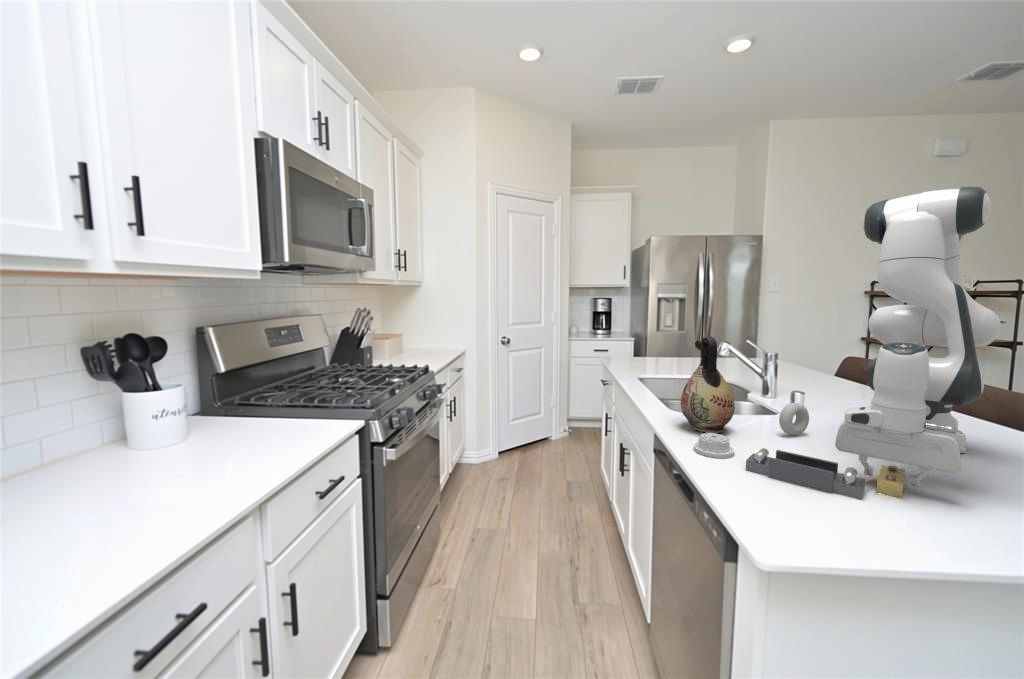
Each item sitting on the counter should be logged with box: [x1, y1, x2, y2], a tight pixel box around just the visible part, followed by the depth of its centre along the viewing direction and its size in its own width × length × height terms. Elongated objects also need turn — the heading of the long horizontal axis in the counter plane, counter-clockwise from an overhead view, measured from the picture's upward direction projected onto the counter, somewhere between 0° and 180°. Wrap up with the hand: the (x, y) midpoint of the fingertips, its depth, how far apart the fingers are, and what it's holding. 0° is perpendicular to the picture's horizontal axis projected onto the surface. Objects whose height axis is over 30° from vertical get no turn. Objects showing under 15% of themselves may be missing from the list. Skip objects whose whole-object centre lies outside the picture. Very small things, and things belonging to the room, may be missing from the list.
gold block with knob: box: [876, 464, 906, 500], centre depth 93 cm, size 4×10×4 cm, turn 136°
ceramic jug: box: [680, 335, 736, 434], centre depth 132 cm, size 17×15×30 cm
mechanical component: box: [693, 433, 735, 459], centre depth 115 cm, size 10×4×10 cm
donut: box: [778, 402, 810, 437], centre depth 128 cm, size 10×4×10 cm, turn 108°
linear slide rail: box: [745, 447, 867, 501], centre depth 98 cm, size 8×22×4 cm, turn 46°
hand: (890, 480), depth 93 cm, fingers open, 6 cm apart
